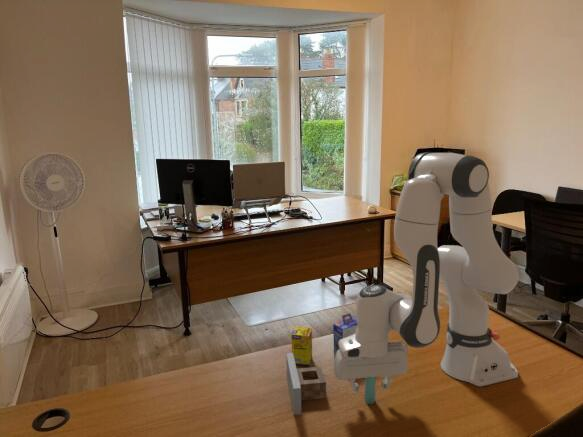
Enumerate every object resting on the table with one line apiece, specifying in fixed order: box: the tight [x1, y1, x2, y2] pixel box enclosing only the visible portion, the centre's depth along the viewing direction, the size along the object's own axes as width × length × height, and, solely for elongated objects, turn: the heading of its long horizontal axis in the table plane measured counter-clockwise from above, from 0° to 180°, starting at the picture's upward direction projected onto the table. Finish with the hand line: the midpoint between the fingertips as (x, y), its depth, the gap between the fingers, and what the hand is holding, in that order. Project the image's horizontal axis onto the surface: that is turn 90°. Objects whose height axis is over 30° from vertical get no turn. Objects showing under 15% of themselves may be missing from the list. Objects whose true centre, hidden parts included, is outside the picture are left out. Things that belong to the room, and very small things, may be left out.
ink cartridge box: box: [332, 312, 357, 359], centre depth 144 cm, size 10×6×14 cm, turn 124°
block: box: [296, 366, 327, 401], centre depth 127 cm, size 8×8×5 cm
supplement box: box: [290, 326, 313, 368], centre depth 141 cm, size 6×6×11 cm
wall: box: [285, 352, 302, 416], centre depth 125 cm, size 2×18×8 cm, turn 7°
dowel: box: [364, 377, 377, 405], centre depth 121 cm, size 3×3×9 cm
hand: (370, 389), depth 121 cm, fingers open, 7 cm apart
